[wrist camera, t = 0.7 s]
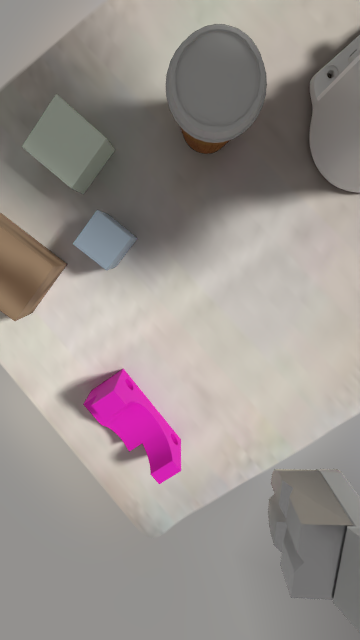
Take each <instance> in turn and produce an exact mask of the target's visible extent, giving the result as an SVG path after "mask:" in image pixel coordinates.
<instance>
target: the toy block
mask: <svg viewBox="0 0 360 640" xmlns="http://www.w3.org/2000/svg"><path fill="white" fill-rule="evenodd" d="M83 405H84V406H85V407H86V408H87V409H88V410H89V412H90V413H91V414H92V415H93V416H94V417H95V418H96V420H97V421H98V422H99V423H100V424H101V425H103V426H106V427H108V428H110V429H111V430H113V431H114V432H115V433H116V434H117V435H118V436H119V437H120V438H121V440H122V441H123V442H124V444H125V445H126V447H127V449H128V450H129V452H130V451H131V450H133V449H134V448H136V447H137V446H139V445H140V444H143V446H144V448H145V450H146V453H147V456H148V459H149V463H150V470H151V475H152V476H153V478H154V479H155V480H156V481H157V482H158V483H159V484H161V483H162V482H164V481H165V480H167V479H169V478H170V477H172V476H173V475H175V474H177V473H178V472H180V471H181V439H180V438H179V437H178V435H177V434H176V433H175V432H174V430H173V429H172V428H171V427H170V426H169V424H168V423H167V422H166V421H165V419H164V418H163V417H162V416H161V414H160V413H159V412H158V411H157V410H156V408H155V407H154V406H153V405H152V403H151V402H150V401H149V400H148V398H147V397H146V396H145V395H144V394H143V392H142V391H141V390H140V389H139V387H138V386H137V385H136V384H135V382H134V381H133V380H132V379H131V378H130V376H129V375H128V374H127V373H126V371H125V370H124V369H122V370H121V371H119V372H118V373H116V374H115V375H113V376H112V377H110V378H109V379H108V380H106V381H105V382H103V383H102V384H100V385H99V386H97V387H96V388H95V389H93V390H92V391H91V392H90V394H89V396H88V397H87V399H86V401H85V402H84V404H83Z"/></svg>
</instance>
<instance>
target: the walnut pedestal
mask: <svg viewBox="0 0 360 640" xmlns="http://www.w3.org/2000/svg"><path fill="white" fill-rule="evenodd" d="M66 265H67V264H66V263H65V262H64V261H62V260H61V259H60V258H59V257H57V256H56V255H55V254H53V253H52V252H51V251H50V250H48V249H47V248H46V247H44V246H43V245H42V244H40V243H39V242H38V241H37V240H35V239H34V238H33V237H31V236H30V235H29V234H27V233H26V232H25V231H24V230H22V229H21V228H20V227H18V226H17V225H16V224H15V223H13V222H12V221H11V220H9V219H8V218H7V217H5V216H4V215H3V214H2V213H0V311H1V312H3V313H4V314H6V315H7V316H8V317H10V318H11V319H12V320H14V321H16V320H18V319H21V318H23V317H25V316H27V315H29V314H31V313H33V311H34V310H35V308H36V307H37V306H38V304H39V303H40V301H41V300H42V299H43V297H44V296H45V294H46V293H47V292H48V290H49V289H50V288H51V286H52V285H53V283H54V282H55V281H56V279H57V278H58V276H59V275H60V274H61V272H62V271H63V269H64V268H65V267H66Z"/></svg>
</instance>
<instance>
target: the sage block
mask: <svg viewBox="0 0 360 640" xmlns="http://www.w3.org/2000/svg"><path fill="white" fill-rule="evenodd" d="M22 148H24V149H25V150H26V151H27V152H28V153H30V154H31V155H32V156H33V157H34V158H35V159H37V160H38V161H39V162H40V163H41V164H43V165H44V166H45V167H46V168H47V169H49V170H50V171H51V172H52V173H53V174H55V175H56V176H57V177H58V178H59V179H61V180H62V181H63V182H64V183H65V184H67V185H68V186H69V187H70V188H71V189H73V190H75V191H77V192H79V193H81V194H84V193H85V191H86V190H87V189H88V187H89V186H90V185H91V183H92V182H93V180H94V179H95V178H96V176H97V175H98V173H99V172H100V171H101V169H102V168H103V166H104V165H105V164H106V162H107V161H108V159H109V158H110V157H111V155H112V154H113V152H114V151H115V149H114V148H113V147H112V145H111V144H110V142H109V141H108V139H107V138H106V137H105V136H103V135H102V134H101V133H100V132H99V131H98V130H97V129H96V128H94V127H93V126H92V125H91V124H90V123H89V122H88V121H87V120H85V119H84V118H83V117H82V116H81V115H80V114H79V113H78V112H76V111H75V110H74V109H73V108H72V107H71V106H70V105H68V104H67V103H66V102H65V101H64V100H63V99H62V98H61V97H59V96H58V95H57V94H56V95H55V96H54V98H53V99H52V101H51V102H50V104H49V105H48V107H47V109H46V110H45V112H44V113H43V115H42V116H41V118H40V119H39V121H38V122H37V124H36V125H35V127H34V128H33V130H32V132H31V133H30V135H29V136H28V138H27V139H26V141H25V142H24V144H23V145H22Z"/></svg>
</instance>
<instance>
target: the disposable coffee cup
mask: <svg viewBox="0 0 360 640" xmlns="http://www.w3.org/2000/svg"><path fill="white" fill-rule="evenodd" d="M266 86H267V81H266V71H265V67H264V63H263V60H262V57H261V54H260V52H259V50H258V48H257V46H256V45H255V43H254V42H253V40H252V39H251V38H250V37H249V36H248V35H247V34H245V33H244V32H242V31H241V30H239V29H238V28H235V27H232V26H229V25H225V24H213V25H208V26H205V27H203V28H201V29H199V30H197V31H195V32H194V33H192V34H191V35H190V36H189V37H188V38H187V39H186V40H185V41H184V42H182V44H181V45H180V46H179V48H178V49H177V50H176V52H175V54H174V55H173V57H172V59H171V61H170V65H169V68H168V71H167V76H166V97H167V101H168V105H169V108H170V111H171V113H172V115H173V117H174V119H175V121H176V122H177V123H178V124H179V125H180V128H181V130H182V133H183V135H184V138H185V141H186V142H187V144H188V145H189V146H190V147H191V148H192V149H193V150H195V151H197V152H200V153H204V154H208V153H213V152H216V151H218V150H219V149H221V148H222V147H223V146H224V145H225V144H226V143H227V142H228V141H229V140H231V139H234V138H236V137H237V136H239V135H240V134H242V133H243V132H245V131H246V130H247V129H248V128H249V127H250V126H251V125H252V123H253V122H254V121H255V119H256V118H257V117H258V115H259V112H260V110H261V108H262V106H263V103H264V99H265V95H266Z"/></svg>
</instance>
